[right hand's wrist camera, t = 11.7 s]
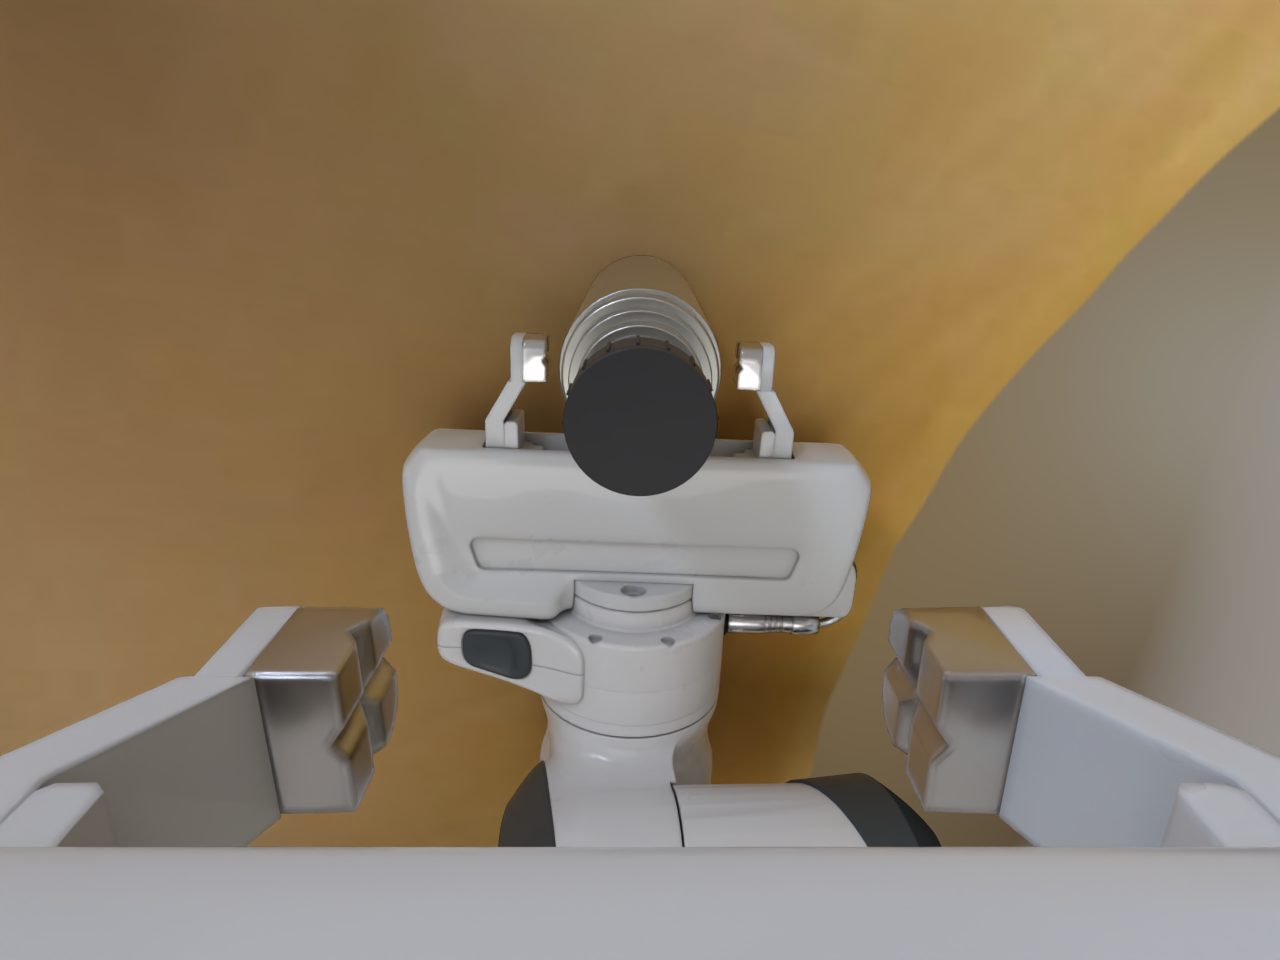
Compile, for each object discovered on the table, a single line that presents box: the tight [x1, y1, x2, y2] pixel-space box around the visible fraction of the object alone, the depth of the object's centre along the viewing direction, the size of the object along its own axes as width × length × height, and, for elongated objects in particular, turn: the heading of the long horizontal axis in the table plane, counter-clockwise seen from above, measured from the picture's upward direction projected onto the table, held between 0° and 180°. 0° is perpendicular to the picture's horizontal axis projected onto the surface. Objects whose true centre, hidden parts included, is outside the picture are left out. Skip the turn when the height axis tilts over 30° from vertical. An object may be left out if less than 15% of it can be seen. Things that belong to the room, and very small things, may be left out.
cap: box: [562, 335, 719, 496], centre depth 21 cm, size 4×4×2 cm
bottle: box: [559, 255, 722, 401], centre depth 29 cm, size 5×5×19 cm
